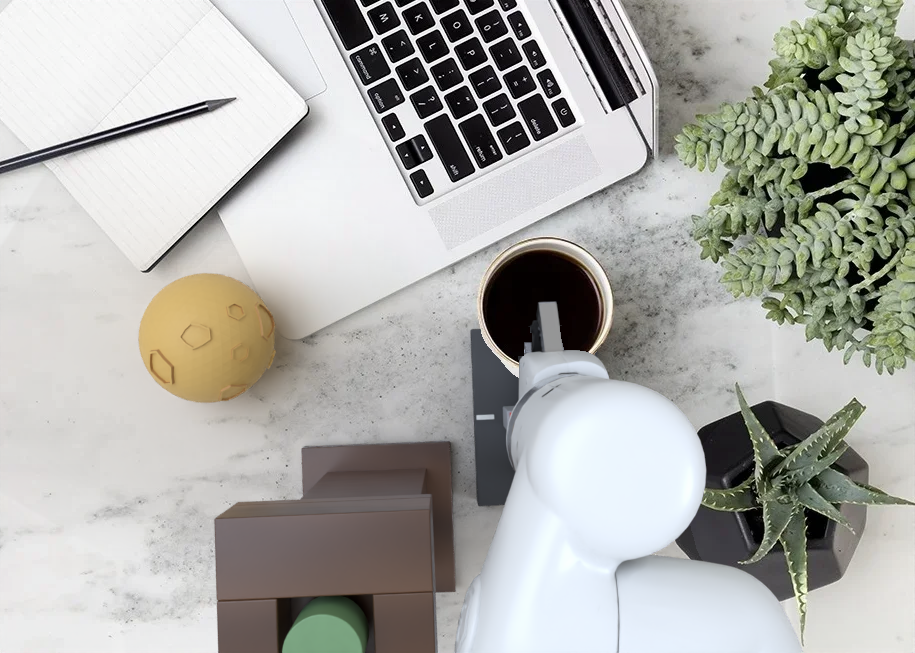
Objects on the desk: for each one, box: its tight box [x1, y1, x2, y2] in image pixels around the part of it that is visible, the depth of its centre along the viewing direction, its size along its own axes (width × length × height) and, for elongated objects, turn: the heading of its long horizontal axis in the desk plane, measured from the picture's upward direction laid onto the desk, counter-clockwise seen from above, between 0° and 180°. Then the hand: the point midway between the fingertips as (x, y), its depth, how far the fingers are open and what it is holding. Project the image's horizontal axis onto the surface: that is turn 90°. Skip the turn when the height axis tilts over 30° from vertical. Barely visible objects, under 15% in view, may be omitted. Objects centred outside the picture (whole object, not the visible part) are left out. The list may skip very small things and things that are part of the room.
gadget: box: [469, 328, 599, 507], centre depth 63 cm, size 14×10×3 cm
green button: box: [282, 596, 369, 653], centre depth 36 cm, size 4×4×3 cm
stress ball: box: [138, 272, 277, 404], centre depth 59 cm, size 10×10×10 cm
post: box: [300, 440, 457, 594], centre depth 52 cm, size 12×12×24 cm
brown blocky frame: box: [213, 494, 439, 653], centre depth 38 cm, size 12×10×4 cm
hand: (538, 416), depth 61 cm, fingers open, 8 cm apart
